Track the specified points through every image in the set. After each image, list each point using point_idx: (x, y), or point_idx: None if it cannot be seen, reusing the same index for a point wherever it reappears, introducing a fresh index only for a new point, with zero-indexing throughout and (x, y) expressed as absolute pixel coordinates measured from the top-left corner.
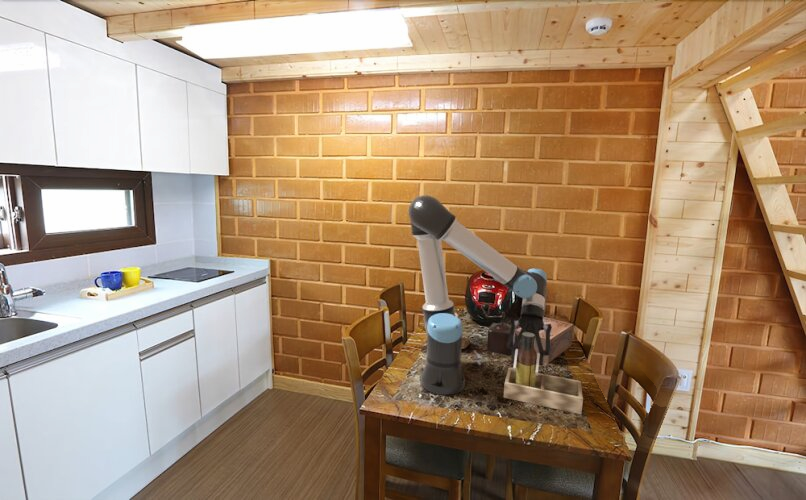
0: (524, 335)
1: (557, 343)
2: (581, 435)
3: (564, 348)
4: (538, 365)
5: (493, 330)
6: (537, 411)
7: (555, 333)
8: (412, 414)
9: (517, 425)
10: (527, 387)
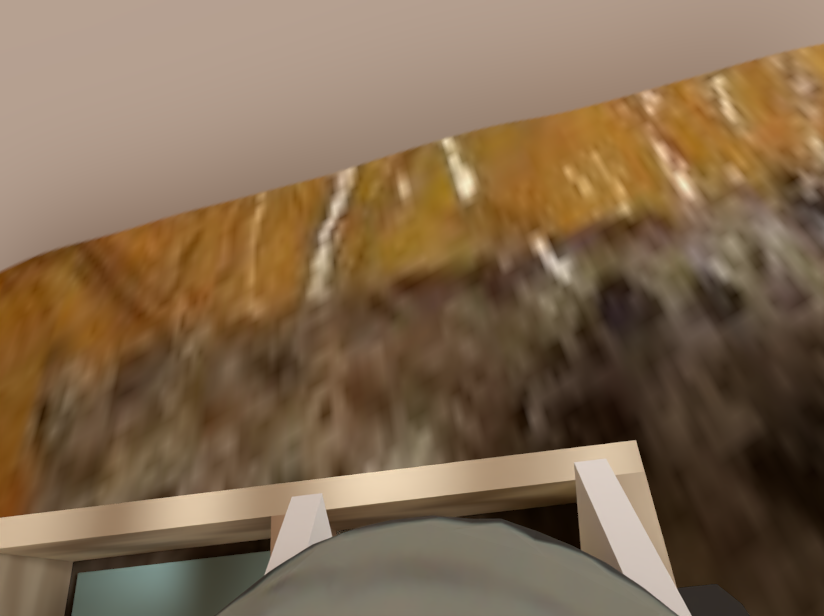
0: (603, 576)
1: None
2: (107, 305)
3: None
4: (269, 564)
5: None
6: (341, 414)
7: None
8: None
9: (429, 217)
10: (418, 471)
